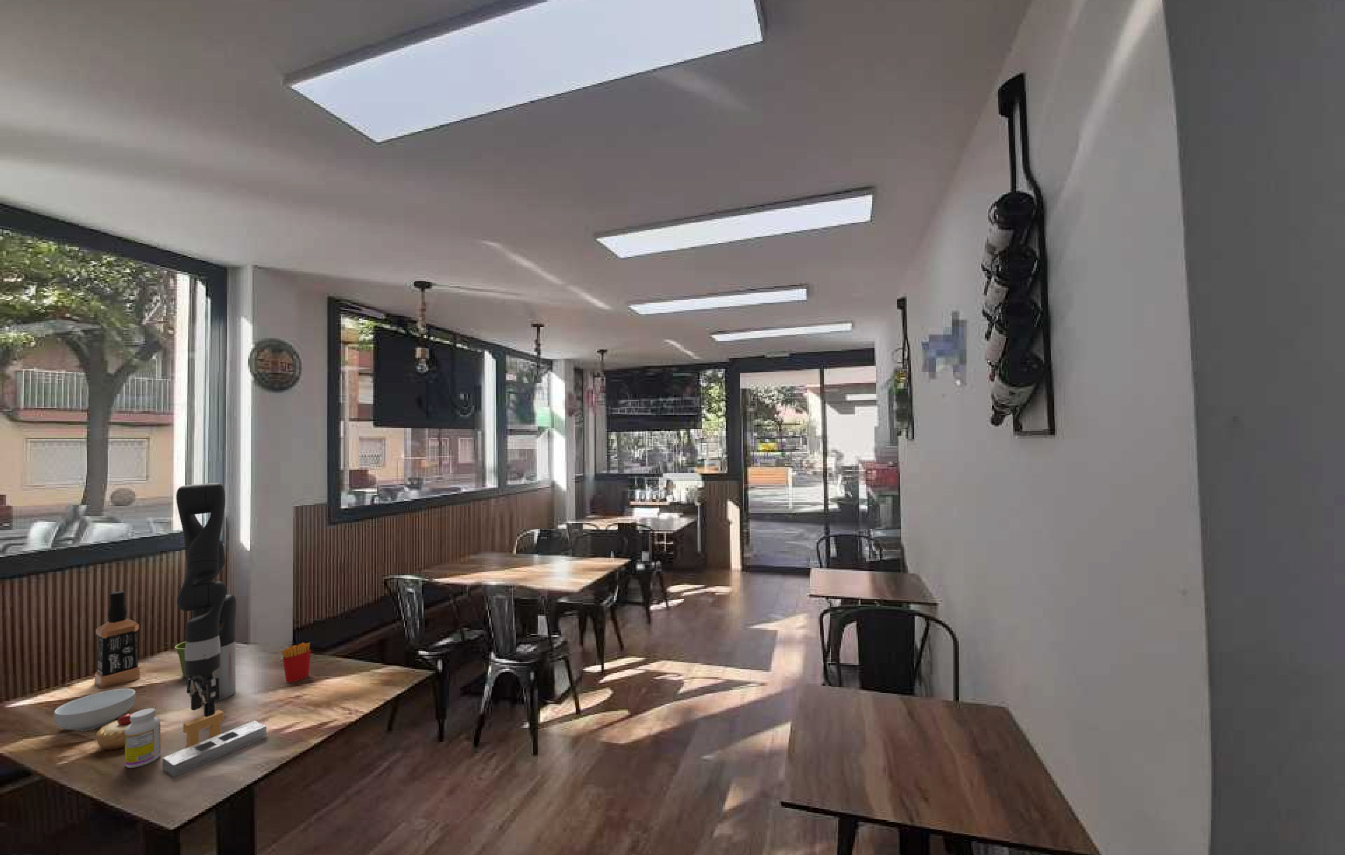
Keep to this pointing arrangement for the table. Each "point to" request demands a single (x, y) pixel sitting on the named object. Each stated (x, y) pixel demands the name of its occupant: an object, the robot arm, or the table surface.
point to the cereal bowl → (94, 710)
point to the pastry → (114, 733)
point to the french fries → (296, 662)
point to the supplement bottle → (142, 738)
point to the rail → (213, 748)
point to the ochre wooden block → (202, 722)
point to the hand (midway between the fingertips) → (202, 712)
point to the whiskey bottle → (117, 646)
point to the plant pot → (181, 655)
